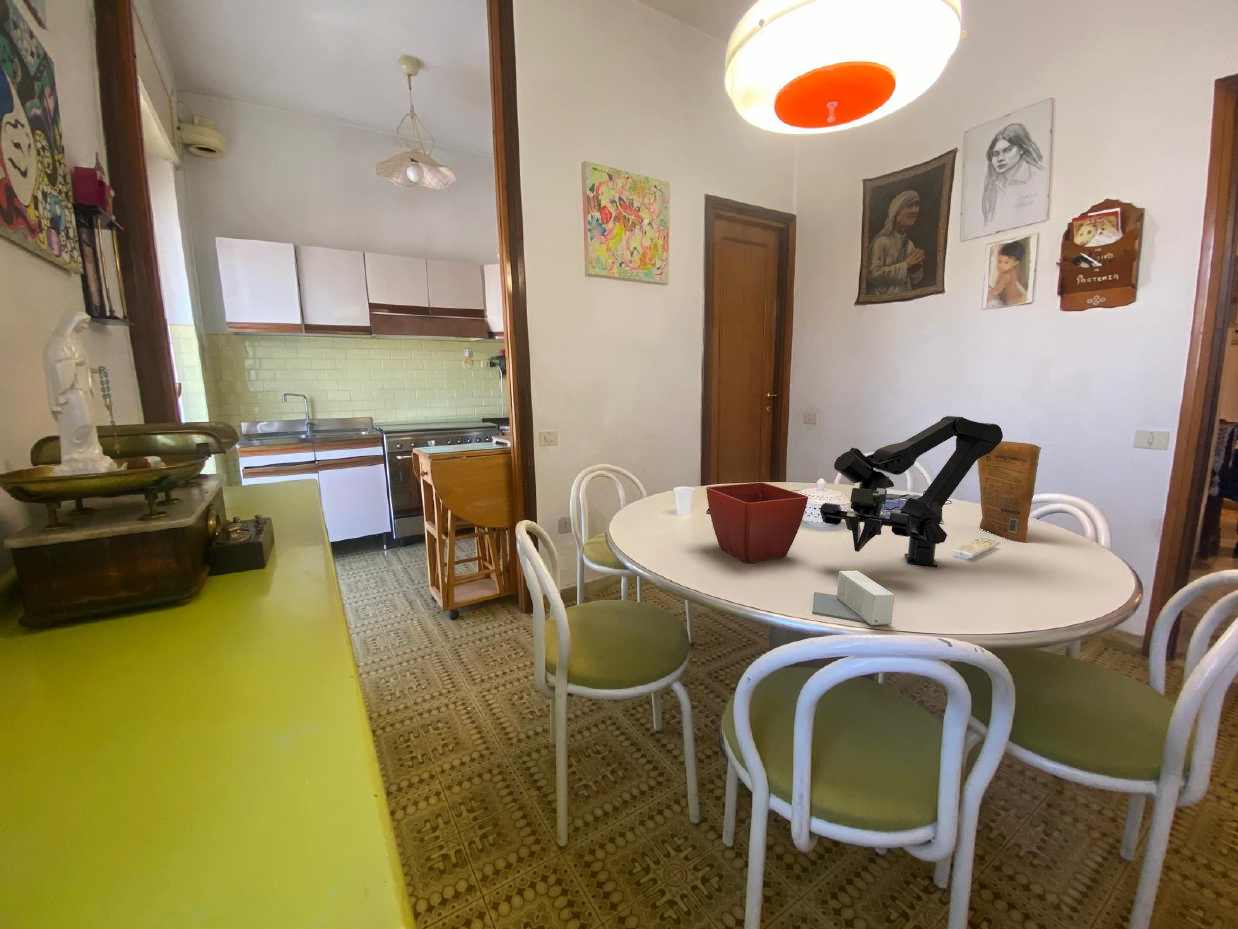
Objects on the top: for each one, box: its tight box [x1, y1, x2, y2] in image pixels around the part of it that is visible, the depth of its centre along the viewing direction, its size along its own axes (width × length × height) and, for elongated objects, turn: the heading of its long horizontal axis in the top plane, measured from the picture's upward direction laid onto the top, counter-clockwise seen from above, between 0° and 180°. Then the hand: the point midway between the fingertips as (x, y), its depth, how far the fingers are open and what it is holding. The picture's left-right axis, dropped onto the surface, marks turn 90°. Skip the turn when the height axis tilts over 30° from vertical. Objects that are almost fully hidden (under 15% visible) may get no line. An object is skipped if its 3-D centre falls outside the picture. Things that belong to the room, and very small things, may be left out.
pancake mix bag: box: [976, 440, 1042, 543], centre depth 143 cm, size 7×19×28 cm, turn 5°
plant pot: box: [705, 482, 809, 563], centre depth 129 cm, size 19×19×17 cm
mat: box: [812, 591, 869, 624], centre depth 98 cm, size 10×11×1 cm
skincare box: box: [836, 570, 895, 626], centre depth 96 cm, size 6×4×12 cm
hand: (856, 550), depth 110 cm, fingers closed
